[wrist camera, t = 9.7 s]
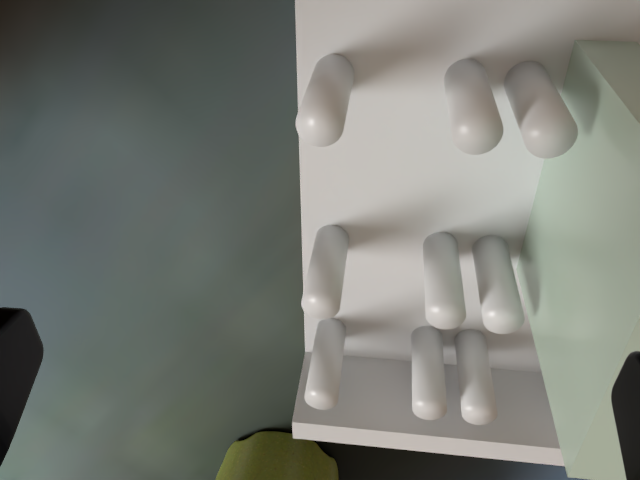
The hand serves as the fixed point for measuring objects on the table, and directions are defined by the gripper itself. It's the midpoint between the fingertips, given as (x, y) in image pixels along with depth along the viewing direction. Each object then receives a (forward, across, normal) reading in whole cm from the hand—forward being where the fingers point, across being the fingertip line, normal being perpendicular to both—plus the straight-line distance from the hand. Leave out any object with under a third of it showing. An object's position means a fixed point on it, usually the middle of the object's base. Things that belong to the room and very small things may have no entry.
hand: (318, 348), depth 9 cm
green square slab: (+10, -7, +2) cm, 13 cm away
